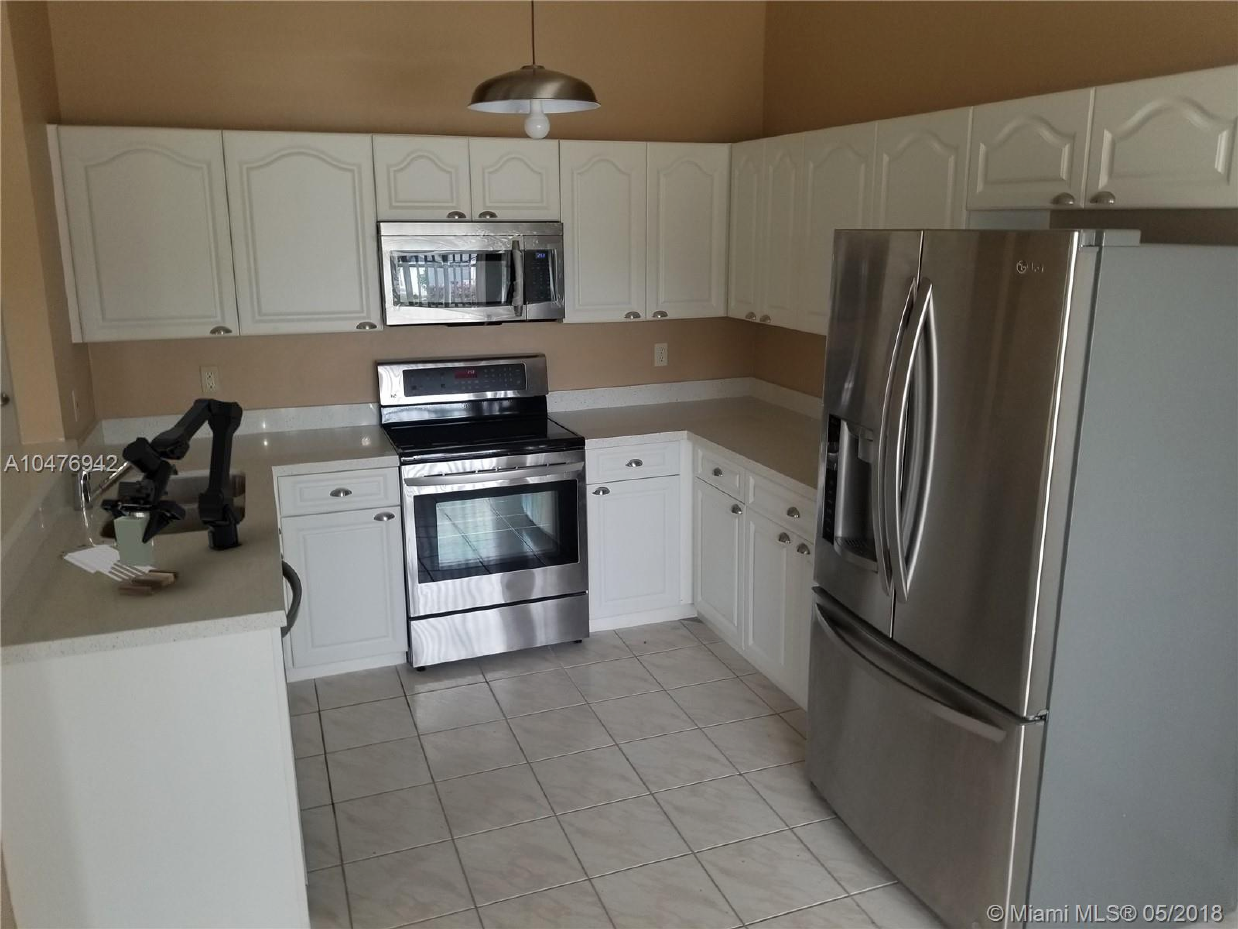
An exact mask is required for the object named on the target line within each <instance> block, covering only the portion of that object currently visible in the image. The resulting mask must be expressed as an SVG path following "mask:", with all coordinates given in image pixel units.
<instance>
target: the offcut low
mask: <svg viewBox="0 0 1238 929" xmlns="http://www.w3.org/2000/svg"><path fill="white" fill-rule="evenodd" d="M173 580H174V577H172V578H170V579H169V580H167V581H165V582H164V585H166V584H168V583H169V582H171V581H173Z"/></svg>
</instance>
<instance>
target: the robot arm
mask: <svg viewBox="0 0 1238 929" xmlns="http://www.w3.org/2000/svg"><path fill="white" fill-rule="evenodd" d="M192 404H193V405H191V407H190V408H189V409H188V410H187V411H186V412H185V413H184V415H182V417H181V418H180V419H178V421H177V422H176V423H175V425H174V426H173V427H172V428H170V429H166V430H165V431H161V432H160V433H159V434H157V435H156V436H154V437H153V438H152V439H151V441H149V440H148V438H147V437H143V436H141V437H140V436H137V437H136V439H135V440H134V441H132V442H130V443H129V444H127V445H126V446H125V447H124V448H123V450H122V453H121V454H122V458H123V459H124V461H126V462H127V463H128V464H129V465H130V466H132V467H133V468H134V469H135V470H136V471H137V472H138V473H140V474H143V475H142V477H141V480H139V479H137V480H135V481H118V487H117V492H116V493H117V494H116V495H117V496H119V498H118V497H106V498H103V499H102V501H101V503H100V505H99V508H100V509H101V510H102V511H104V512H105V513H106V514H107V515H109V516H111V517H112V518H113V519H114V520H115V519H118V518H120V517H122V516H129V517H131V514H132V513H137V514H149V517H148V525H147V527H146V530H145V532H144V535H143V538H142V542H143V543H144V544H146V543H147V542H148V541H149V540H150V539H151V540H152V539H153V538H154V537H155V536H156V535H157V534H158V533H160V531H162V530H163V529H165V528H166V527H168V526H169V525H172V524H174V522H175V521H176V522H184V520H185V518H186V514H187V512H186V509H185V507H183V506H182V505H180V503H178V502H177V501H176V500H172V499H163V497H168V495H169V492H168V491H167V488H168V484H169V482H170V479H171V477H172V476H178V475H179V471H178V469H177V467H176V464H175V463H174V464H173V463H171V462H170V461H181V460H183V459H184V458H185V456H186V455H187V454H188V452H189V449H190V448H191V446H190V444H191V443H190V441H191V439H192V438H193V437H194V436H195V435H196V434H197V432H198V431H199V430H200V429H201V428H202V427H203V426H204V424H205V423H206V422H207V425H208V427H209V428H210V430H211V432H212V440H211V450H210V461H209V462H210V463H209V471H208V472H209V473H208V474H209V475H208V482H207V483H208V485H207V487H206V489H205V490H204V492H200V493H199V494H198V503H197V507H196V508H197V514H198V516H199V518H200V520H201V524H202V526H208V531H207V538H208V543H207V544H208V547H210V548H212V549H215V550H217V551H223V550H226V549H229V548H234V547H236V546H242V545H243V543H242V541H239V534H238V533H239V532H238V526H237V525H240V523H241V522H242V519H243V517H242V516H243V514H242V513H241V511H239V510H238V509H237V508H236V507H235V506H234V504H235V503H234V501H235V500H234V499H235V498H234V497H233V495H232V493H231V491H230V489H229V483H230V473H231V470H230V469H231V461H232V451H233V450H232V449H233V441H234V440H233V437H234V434H235V433H236V432H237V431H238V429H239V427H240V426H241V423H242V418H243V414H244V411H243V408H242V406H240V404H239V403H238V402H237V401H221V400H217V399H215V398H212V397H211V398H208V397H207V398H205V397H198V398H197V399H194V402H193V403H192ZM120 496H124V497H126V500H127V501H128V502H131V503H127V502H125V501H124V500H123V499H121V498H120ZM114 520H113V521H114ZM114 541H115V542H116V543H117V538H116V532H115V531H114Z"/></svg>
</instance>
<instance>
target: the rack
mask: <svg viewBox="0 0 1238 929" xmlns="http://www.w3.org/2000/svg"><path fill="white" fill-rule="evenodd" d="M148 572H153V573H172V574H173V576H174V580H173V581H171V582H169V583H168V584H166V585H164V582H163V580H156V579H138V578H136V577H133V578H132V579H131V585H132V586H131V585H120V586H118V588H117V590H118V594H119V595H121V596H137V597H151V596H152V595H154V594H156V593H157V592H159V591H160V590H162V589H163V588H165V587H168V586H169V585H170V584H172V583H174V582H176V581H177V580H179V579H181V575H180V570H177V569H176V570H175V569H173V570H172V569H159V568H155V569H150V570H148Z"/></svg>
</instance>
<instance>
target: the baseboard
mask: <svg viewBox="0 0 1238 929" xmlns="http://www.w3.org/2000/svg"><path fill="white" fill-rule="evenodd" d="M101 543H102V545H97V544H99V542H97V543H96V545H97V546H93V545H95V543H93V544H92V546H93V547H90V548H87V549H82V550H79V551H74V552H70V551H71V549H70V550H68V551H69V553H66V555H65V556H63V557H62V554H59V555H58V556H57V557H58V559H59V558H60V559H61V560H62V559H63V560H65V561H67V562H68V563H71V564H72V565H75V566H76V567H78V568H80V569H82V570H84V571H86V572H88V573H89V574H94V573H97V572H98V571H99V572H101V573H102V574H104V575H106V576H109V577H110V578H112V579H114V580H116V581H117V582H121V581H123V579H121V578H119V577H118V576H120V577H122V578H124V579H126V580H128V579H130V577H133V578H136V575H134V574H132V573H130V572H128V571H127V570H124V569H122V568H121V567H123V568H125V569H128V570H129V571H131V572H134V573H135V574H137V575H139V576H143V573H140V572H139V571H142V572H144V573H146V574H147V573H149V572H148V570H150V569H156V568H155V567H152V566H150V565H148V566H146V567H143V566H132V567H133V568H136V569H138V570H139V571H137V570H135V569H133V568H130V566H129V567H128V566H124V565H121V562H120V556H119V550H118V549H115V548H113V547H111V546H109V545H108V544H104V543H105V541H102V542H100V544H101ZM89 546H91V544H90V545H88V547H89ZM83 547H84V548H85V547H87V544H86V543H84V544H82V545H77V548H76V550H77V549H79V548H83ZM72 550H75V548H74V549H72ZM65 552H67V550H65V551H62V553H65ZM115 564H116V565H119V566H121V567H118V566H116V565H115ZM112 567H113V568H115V569H117V570H119V571H120V572H122V573H125V574H127V575H129V576H130V577H128V576H126V575H124V574H122V573H120V572H119V571H116V570H115V569H113V568H112ZM110 571H111V572H113V573H114V574H117V575H118V576H115V575H114V574H112V573H110Z"/></svg>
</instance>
